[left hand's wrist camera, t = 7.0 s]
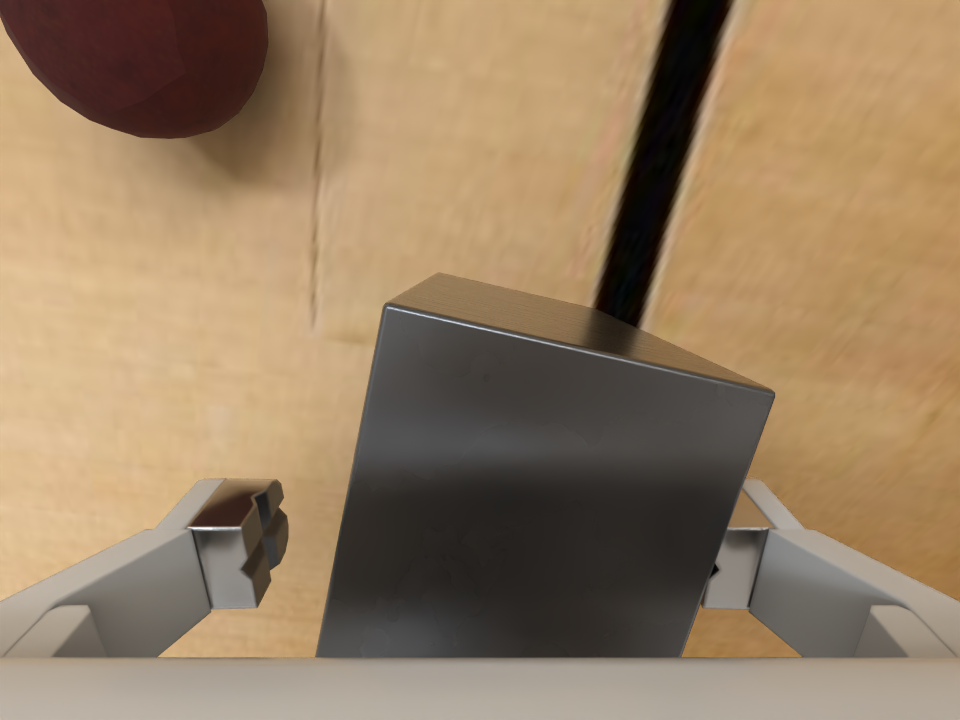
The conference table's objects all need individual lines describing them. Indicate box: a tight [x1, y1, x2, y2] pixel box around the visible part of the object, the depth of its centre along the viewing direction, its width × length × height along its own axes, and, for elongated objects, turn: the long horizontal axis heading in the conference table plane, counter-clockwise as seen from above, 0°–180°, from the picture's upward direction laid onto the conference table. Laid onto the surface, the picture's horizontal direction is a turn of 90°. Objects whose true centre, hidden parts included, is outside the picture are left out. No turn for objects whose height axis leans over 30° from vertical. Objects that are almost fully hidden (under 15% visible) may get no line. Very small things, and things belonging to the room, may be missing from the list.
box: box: [315, 273, 775, 658], centre depth 15 cm, size 23×6×12 cm, turn 167°
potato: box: [0, 0, 268, 139], centre depth 16 cm, size 7×8×7 cm
